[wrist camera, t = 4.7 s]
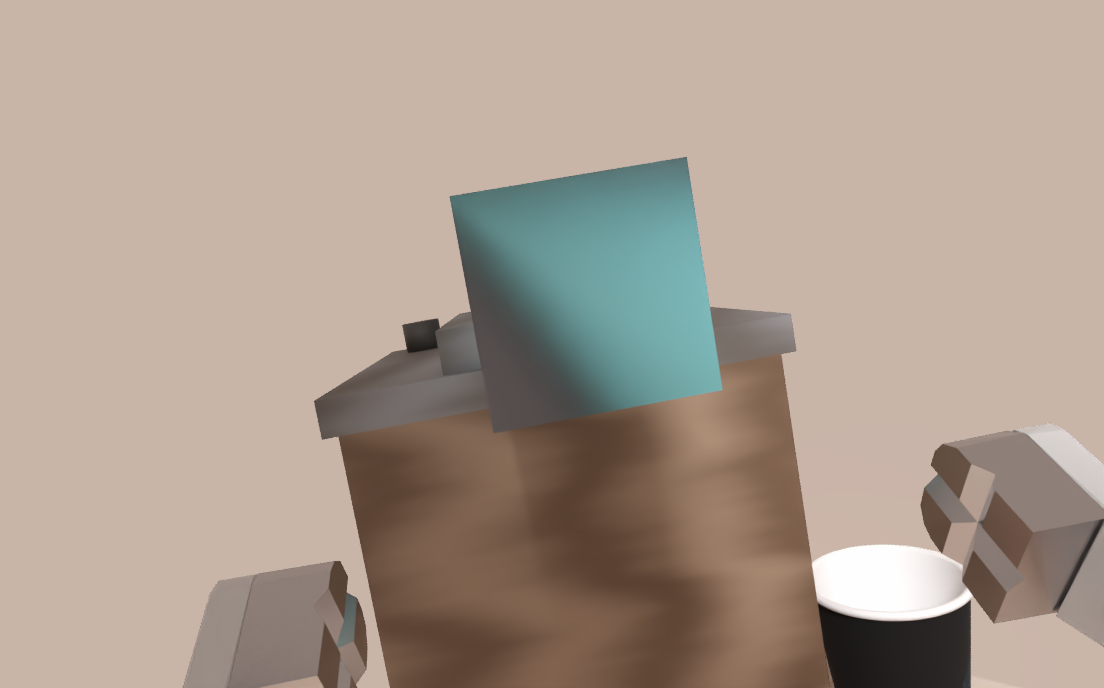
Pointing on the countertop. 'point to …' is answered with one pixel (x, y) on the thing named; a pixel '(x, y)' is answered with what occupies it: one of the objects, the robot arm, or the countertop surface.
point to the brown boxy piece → (582, 526)
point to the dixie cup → (894, 617)
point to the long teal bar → (587, 293)
